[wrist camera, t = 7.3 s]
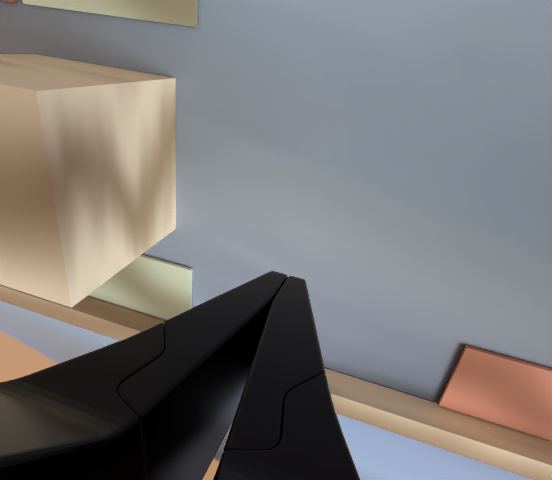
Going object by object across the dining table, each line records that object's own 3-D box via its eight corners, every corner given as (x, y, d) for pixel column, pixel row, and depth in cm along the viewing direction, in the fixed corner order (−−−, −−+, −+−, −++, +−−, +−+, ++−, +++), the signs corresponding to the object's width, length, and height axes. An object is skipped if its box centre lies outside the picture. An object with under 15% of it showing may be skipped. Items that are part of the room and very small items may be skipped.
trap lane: (548, 457, 18) (559, 488, 17) (10, 283, 25) (-12, 296, 23) (988, -130, 8) (1095, -164, 7) (-103, -164, 15) (-151, -184, 13)
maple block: (176, 228, 19) (71, 307, 13) (59, 197, 20) (-84, 257, 14) (176, 77, 16) (36, 91, 10) (37, 54, 17) (-161, 52, 11)
